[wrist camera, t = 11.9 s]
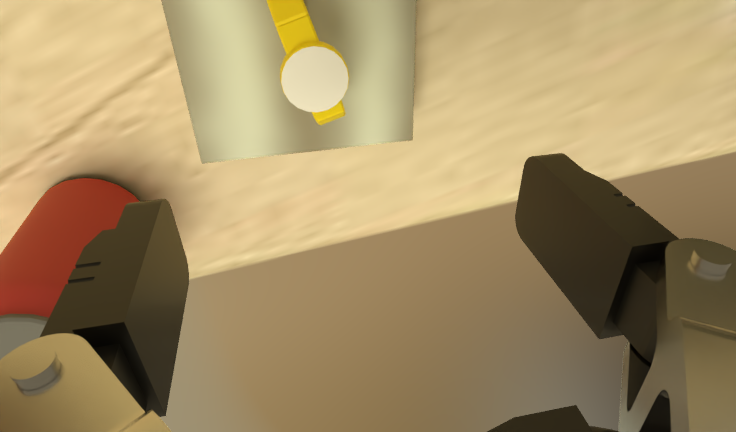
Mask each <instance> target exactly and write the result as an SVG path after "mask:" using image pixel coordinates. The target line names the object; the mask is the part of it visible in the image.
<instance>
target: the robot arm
mask: <svg viewBox="0 0 736 432" xmlns="http://www.w3.org/2000/svg"><path fill="white" fill-rule="evenodd" d="M515 219H516V227H517V231H518V234H519V236H520V238H521V239H522V241H523V242H524V243H525V244H526V246H527V247H528V248H529V249H530V251H531V252H532V253H533V255H534V256H535V257H536V258H537V260H538V261H539V262H540V264H541V265H542V266H543V268H544V269H545V270H546V271H547V273H548V274H549V275H550V277H551V278H552V279H553V280H554V282H555V283H556V284H557V286H558V287H559V288H560V289H561V291H562V292H563V293H564V294H565V296H566V297H567V298H568V300H569V301H570V302H571V303H572V305H573V306H574V307H575V309H576V310H577V311H578V312H579V314H580V315H581V316H582V318H583V319H584V320H585V321H586V323H587V324H588V325H589V327H590V328H591V329H592V331H593V332H594V333H595V334H596V336H597V337H598V338H599V339H603V338H608V337H614V336H619V335H624V336H625V337H626V338H627V339H628V342H627V345H626V347H625V349H624V353H623V369H622V383H621V399H620V415H619V426H618V431H615V430H611V429H606V428H599V427H593V426H589V425H588V423H587V422H586V420H585V419H584V417H583V416H582V414H581V412H580V411H579V409H578V408H577V406H576V405H574V406H569V407H564V408H559V409H554V410H549V411H545V412H540V413H534V414H529V415H525V416H520V417H515V418H512V419H511V420H509V421H507V422H505V423H503V424H501V425H499V426H497V427H495V428H493V429H491V430H490V431H488V432H736V251H735V250H733V249H731V248H729V247H726V246H724V245H721V244H718V243H715V242H712V241H708V240H702V239H693V238H685V239H678V238H677V237H676V236H675V235H674V234H672V233H671V232H670V231H669V230H667V229H666V228H665V227H664V226H663V225H661V224H660V223H658V221H656V220H655V219H654V218H653V217H651V216H650V215H649V214H648V213H646V212H645V211H644V210H643V209H641V208H640V207H639V206H635V203H634V202H633V201H631V200H630V199H629V198H628V197H627V196H623V195H622V192H620V191H619V190H618V189H616V188H615V187H614V186H613V185H612V184H610V183H609V182H608V181H606V180H604V179H602V178H600V177H598V176H595V175H593V174H591V173H589V172H587V171H584V170H583V169H582V168H581V167H580V166H578V165H577V164H576V163H575V162H574V161H572V160H571V159H570V158H569V157H568V156H566V155H565V154H563V153H558V154H549V155H541V156H532V157H529V158H528V159H527V160H526V162H525V165H524V169H523V174H522V180H521V186H520V191H519V197H518V203H517V209H516V215H515ZM75 267H76V268H75V269H73V270H72V272H71V274H70V276H69V278H68V284H66V285H65V287H64V289H63V291H62V293H61V295H60V297H59V299H58V301H57V303H56V305H55V307H54V309H53V311H52V313H51V315H50V317H49V319H48V321H47V323H46V325H45V327H44V329H43V331H42V333H41V335H40V337H39V338H37V339H34V340H32V341H29V342H27V343H25V344H23V345H21V346H19V347H18V348H16V349H14V350H13V351H11V352H10V353H8V354H7V355H6V356H4V357H3V358H2V359H1V360H0V432H172V431H171V430H170V429H169V428H168V427H167V425H166V424H165V423H164V422H163V421H162V420H161V418H160V417H161V416H166V410H167V405H168V399H169V393H170V388H171V382H172V376H173V371H174V364H175V359H176V353H177V348H178V342H179V336H180V331H181V325H182V319H183V313H184V307H185V302H186V297H187V291H188V285H189V272H188V264H187V259H186V255H185V252H184V249H183V245H182V242H181V239H180V236H179V232H178V229H177V226H176V222H175V219H174V216H173V213H172V209H171V207H170V204H169V202H168V201H167V200H166V199H160V200H151V201H143V202H134V203H128V204H126V205H125V207H124V210H123V212H122V214H121V217H120V219H119V221H118V224H117V226H116V228H115V229H109V230H102V231H101V232H100V233H99V234H98V235H97V236H96V237H95V238H94V239H92V240H91V241H90V242H89V243H88V244H87V245H86V246H85V247H84V248H83V250H82V252H81V254H80V256H79V258H78V260H77V262H76V264H75Z"/></svg>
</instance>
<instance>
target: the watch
mask: <svg viewBox="0 0 736 432" xmlns="http://www.w3.org/2000/svg"><path fill="white" fill-rule="evenodd" d="M267 4H268V7H269V10H270V12H271V15H272V18H273V21H274V24H275V26H276V28H277V31H278V34H279V37H280V39H281V42H282V44H283V47H284V49H285V52H286V56H285V57H284V59H283V62H282V64H281V67H280V81H281V86H282V89H283V92H284V94H285V95H286V97H287V98H288V100H289V101H290V102H291V103H292V104H293V105H295V106H296V107H297V108H299V109H302V110H304V111H307V112H312V114H313V116H314V119H315V120H316V122H317V123H318V124H319V125H323V124H325V123H328V122H330V121H333V120H335V119H338V118H340V117H343V116H345V114H346V112H345V109H344V106H343V103H342V100H341V99H342V98H343V97H344V95H345V93H346V91H347V89H348V85H349V71H348V67H347V64H346V63H345V61H344V59H343V57H342V55H341V54H340V53H339V52H338V51H337V50H336V49H335V48H334V47H333V46H331V45H329V44H327V43H325V42H321V41H319V39H318V37H317V34H316V31H315V29H314V26H313V24H312V21H311V19H310V16H309V14H308V11H307V9H306V6H305V4H304V1H303V0H267Z"/></svg>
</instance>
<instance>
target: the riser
mask: <svg viewBox="0 0 736 432" xmlns="http://www.w3.org/2000/svg"><path fill="white" fill-rule="evenodd" d="M161 1H162V5H163V9H164V13H165V17H166V21H167V25H168V29H169V33H170V37H171V41H172V45H173V49H174V53H175V57H176V61H177V65H178V69H179V73H180V77H181V81H182V85H183V89H184V94H185V98H186V102H187V106H188V110H189V114H190V118H191V122H192V126H193V130H194V134H195V138H196V142H197V146H198V150H199V154H200V158H201V162H202V164H203V163H212V162H221V161H230V160H239V159H248V158H257V157H266V156H275V155H284V154H293V153H302V152H311V151H320V150H329V149H338V148H347V147H356V146H365V145H374V144H383V143H392V142H401V141H410V140H413V106H414V70H415V34H416V0H303V1H304V4H305V6H306V9H307V11H308V14H309V16H310V19H311V21H312V24H313V26H314V29H315V31H316V34H317V37H318V39H319V41H321V42H325V43H327V44H329V45H331V46H333V47H334V48H335V49H336V50H337V51H338V52H339V53H340V54H341V55H342V57H343V59H344V61H345V63H346V64H347V67H348V71H349V85H348V89H347V91H346V93H345V95H344V97H343V98H342V99H341V100H342V103H343V106H344V109H345V112H346V114H345V116H343V117H340V118H338V119H335V120H333V121H330V122H328V123H325V124H323V125H319V124H318V123H317V122H316V120H315V119H314V116H313V114H312V112H307V111H304V110H302V109H299V108H297V107H296V106H295V105H293V104H292V103H291V102H290V101H289V100H288V98H287V97H286V95H285V94H284V92H283V89H282V86H281V81H280V67H281V64H282V62H283V59H284V57H285V56H286V52H285V49H284V47H283V44H282V42H281V39H280V37H279V34H278V31H277V28H276V26H275V24H274V21H273V18H272V15H271V12H270V10H269V7H268V4H267V0H161Z"/></svg>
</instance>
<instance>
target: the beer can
mask: <svg viewBox="0 0 736 432" xmlns="http://www.w3.org/2000/svg"><path fill="white" fill-rule="evenodd" d="M134 202H139V200H138V199H137V198H136V197H135V196H134V195H133V194H131V193H130V192H128V191H127V190H125V189H124V188H122V187H121V186H119V185H116V184H113V183H110V182H107V181H104V180H100V179H89V178H80V179H74V180H68V181H64V182H62V183H60V184H58V185H56V186H54V187H52V188H50V189H49V190H48V191H47V192H46V193H45V194H44V195H43V196H42V197H41V198H40V200H39V201H38V202H37V204H36V205H35V207H34V208H33V209H32V211H31V212H30V214H29V215H28V216H27V218H26V219H25V221H24V222H23V223H22V225H21V226H20V228H19V229H18V231H17V232H16V233H15V235H14V236H13V238H12V239H11V240H10V242H9V243H8V245H7V246H6V247H5V249H4V250H3V252H2V253H1V254H0V360H1V359H2V358H3V357H4V356H6V355H7V354H8V353H10V352H11V351H13V350H14V349H16V348H18V347H19V346H21V345H23V344H25V343H27V342H29V341H32V340H34V339H37V338H39V337H40V335H41V333H42V331H43V329H44V327H45V325H46V323H47V321H48V319H49V317H50V315H51V313H52V311H53V309H54V307H55V305H56V303H57V301H58V299H59V297H60V295H61V293H62V291H63V289H64V287H65V285H66V284H68V278H69V276H70V274H71V272H72V270H73V269H75V268H76V267H75V264H76V262H77V260H78V258H79V256H80V254H81V252H82V250H83V248H84V247H85V246H86V245H87V244H88V243H89V242H90V241H91V240H92V239H94V238H95V237H96V236H97V235H98V234H99V233H100V232H101V231H102V230H109V229H115V228H116V226H117V224H118V221H119V219H120V217H121V214H122V212H123V210H124V207H125V205H126V204H128V203H134Z"/></svg>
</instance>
